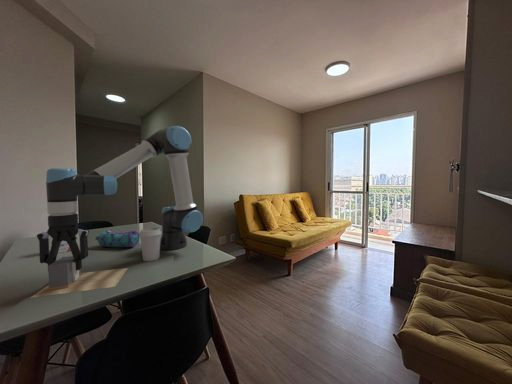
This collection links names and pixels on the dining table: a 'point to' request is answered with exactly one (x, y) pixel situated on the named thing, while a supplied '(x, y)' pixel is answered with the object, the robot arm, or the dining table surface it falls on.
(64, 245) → the ink box
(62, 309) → the dining table surface
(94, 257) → the dining table surface
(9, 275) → the dining table surface
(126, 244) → the pencil case
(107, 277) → the board
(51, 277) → the block
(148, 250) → the coffee cup
